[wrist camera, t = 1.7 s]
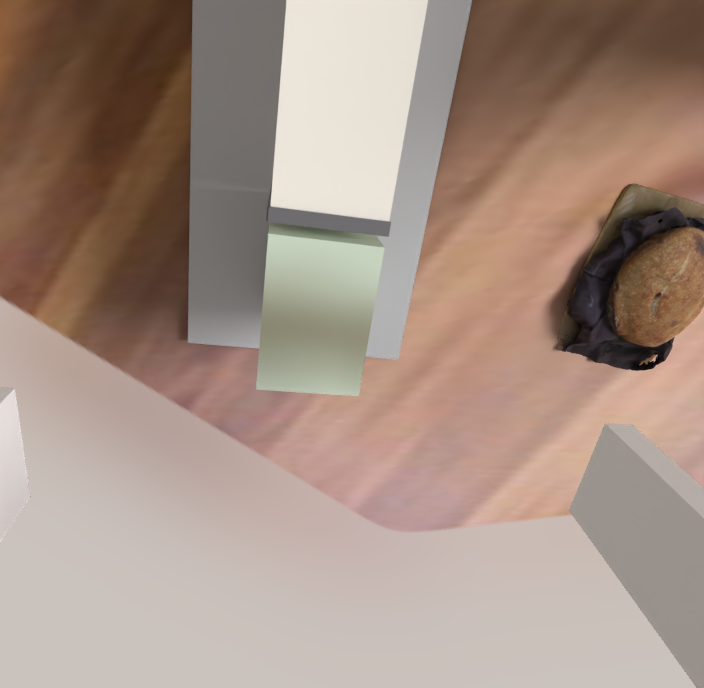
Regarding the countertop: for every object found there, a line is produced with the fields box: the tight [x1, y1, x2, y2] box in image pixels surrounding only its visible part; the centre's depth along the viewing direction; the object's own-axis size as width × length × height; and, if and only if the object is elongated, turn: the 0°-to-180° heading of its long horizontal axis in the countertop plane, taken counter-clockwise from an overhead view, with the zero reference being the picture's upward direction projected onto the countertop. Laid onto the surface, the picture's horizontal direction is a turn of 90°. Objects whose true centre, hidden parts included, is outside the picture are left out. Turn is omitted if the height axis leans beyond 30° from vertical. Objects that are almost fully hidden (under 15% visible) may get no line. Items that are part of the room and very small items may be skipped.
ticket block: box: [188, 0, 472, 360], centre depth 20 cm, size 24×12×10 cm, turn 172°
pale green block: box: [256, 222, 385, 396], centre depth 22 cm, size 6×4×9 cm, turn 172°
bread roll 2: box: [557, 184, 704, 371], centre depth 29 cm, size 11×8×4 cm
